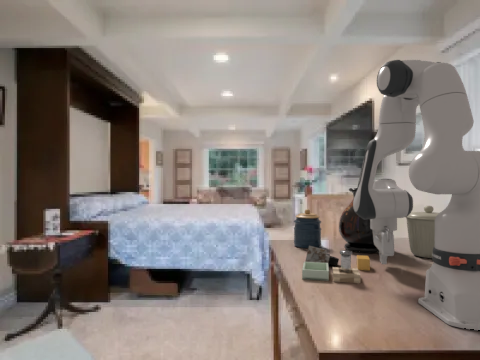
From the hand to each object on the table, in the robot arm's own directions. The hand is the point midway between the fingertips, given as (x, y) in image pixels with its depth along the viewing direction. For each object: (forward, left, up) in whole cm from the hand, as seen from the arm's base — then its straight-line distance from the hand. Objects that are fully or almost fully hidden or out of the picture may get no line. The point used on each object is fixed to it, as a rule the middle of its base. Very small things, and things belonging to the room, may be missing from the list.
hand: (383, 263), depth 125 cm
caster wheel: (+1, +21, -2) cm, 21 cm away
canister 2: (+27, -22, -2) cm, 35 cm away
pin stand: (-16, +14, -2) cm, 21 cm away
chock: (0, +7, -2) cm, 7 cm away
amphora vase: (+34, +3, -2) cm, 34 cm away
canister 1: (+38, +28, -2) cm, 47 cm away
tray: (-14, +23, -2) cm, 27 cm away
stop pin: (-16, +14, -2) cm, 21 cm away
